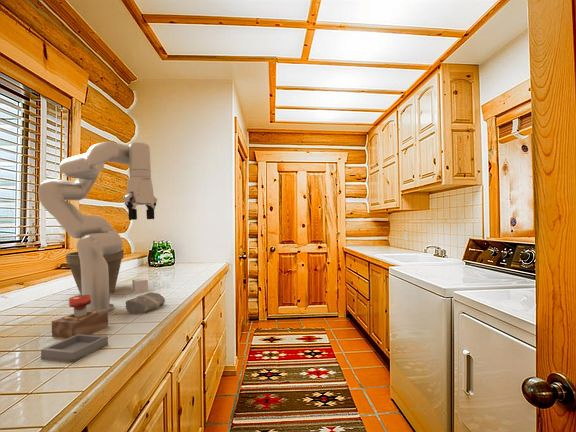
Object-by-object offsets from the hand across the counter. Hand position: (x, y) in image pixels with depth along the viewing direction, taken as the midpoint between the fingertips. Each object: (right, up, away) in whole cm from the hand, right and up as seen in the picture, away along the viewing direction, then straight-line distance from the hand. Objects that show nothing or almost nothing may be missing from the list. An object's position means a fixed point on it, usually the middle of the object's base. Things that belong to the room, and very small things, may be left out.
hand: (142, 219), depth 119 cm
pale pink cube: (-19, -38, +39) cm, 57 cm away
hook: (-12, -37, -17) cm, 43 cm away
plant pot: (-40, -38, +37) cm, 67 cm away
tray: (-3, -37, -33) cm, 49 cm away
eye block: (-12, -37, -17) cm, 43 cm away
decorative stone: (-1, -37, +6) cm, 38 cm away
